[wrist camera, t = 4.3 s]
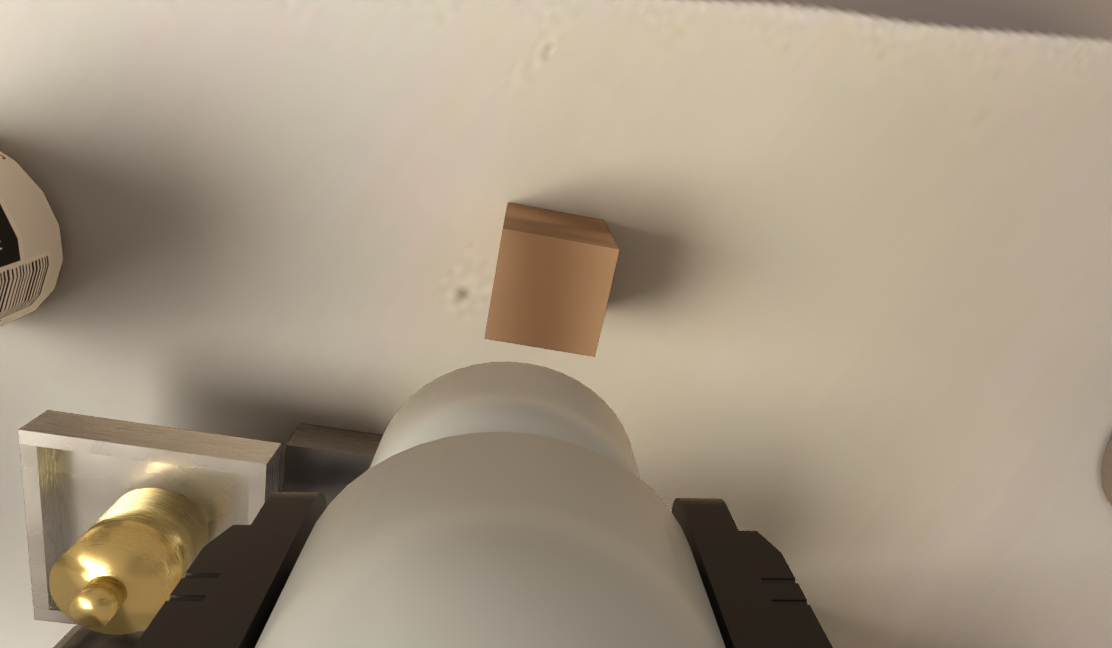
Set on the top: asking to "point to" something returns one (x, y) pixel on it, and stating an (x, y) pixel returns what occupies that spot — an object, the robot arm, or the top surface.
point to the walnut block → (551, 280)
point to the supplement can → (25, 243)
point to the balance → (151, 505)
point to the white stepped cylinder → (497, 531)
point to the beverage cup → (96, 639)
